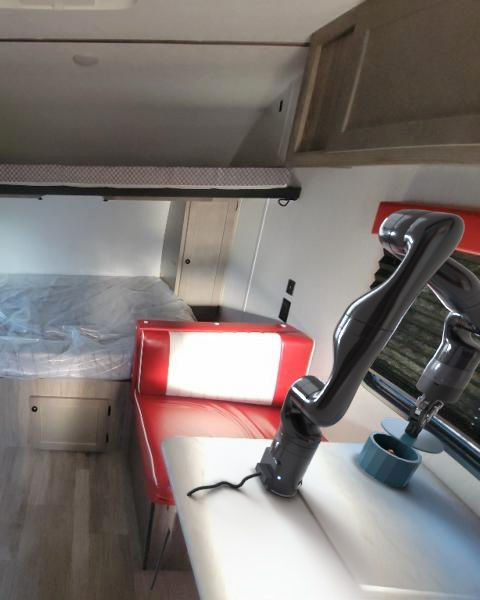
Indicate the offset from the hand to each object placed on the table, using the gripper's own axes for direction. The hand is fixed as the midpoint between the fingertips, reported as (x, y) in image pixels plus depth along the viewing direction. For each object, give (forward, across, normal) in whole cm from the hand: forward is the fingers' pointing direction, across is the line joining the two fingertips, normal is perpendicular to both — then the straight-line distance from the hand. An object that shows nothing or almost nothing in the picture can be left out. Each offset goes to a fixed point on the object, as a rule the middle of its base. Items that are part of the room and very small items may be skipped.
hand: (412, 432), depth 89 cm
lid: (+1, 0, 0) cm, 1 cm away
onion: (+19, -5, -2) cm, 20 cm away
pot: (+19, -6, -2) cm, 20 cm away
